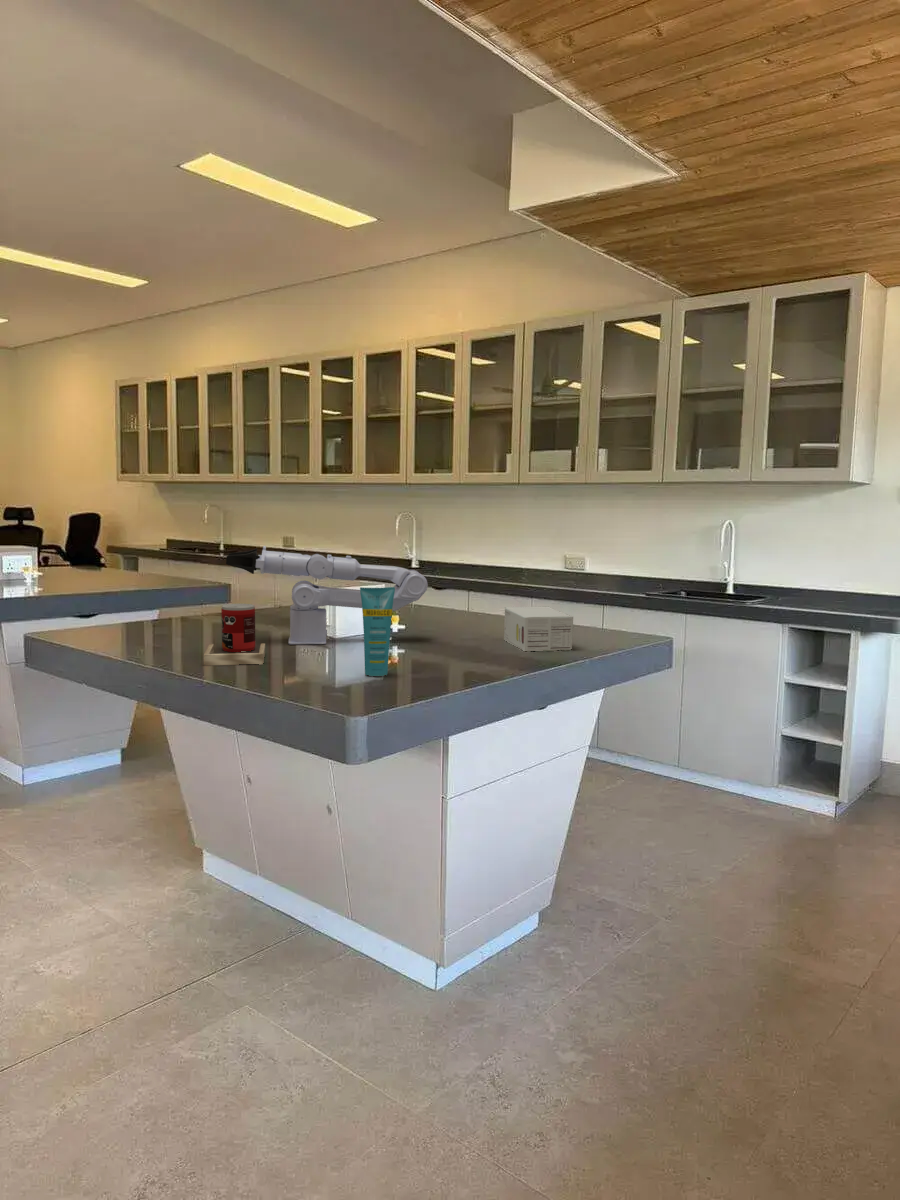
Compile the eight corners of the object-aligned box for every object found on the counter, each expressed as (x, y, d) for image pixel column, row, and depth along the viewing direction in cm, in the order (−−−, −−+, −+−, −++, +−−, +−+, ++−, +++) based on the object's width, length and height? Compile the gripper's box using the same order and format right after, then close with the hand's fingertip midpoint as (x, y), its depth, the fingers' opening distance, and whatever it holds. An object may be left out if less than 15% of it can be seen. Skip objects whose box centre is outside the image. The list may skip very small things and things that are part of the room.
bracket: (265, 653, 205) (265, 643, 205) (263, 664, 193) (263, 654, 192) (209, 654, 203) (209, 644, 203) (204, 665, 190) (203, 654, 190)
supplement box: (502, 641, 229) (503, 606, 228) (548, 639, 233) (549, 606, 231) (523, 653, 213) (525, 616, 212) (572, 651, 216) (574, 615, 215)
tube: (361, 677, 181) (362, 588, 179) (357, 673, 186) (358, 585, 183) (395, 676, 183) (396, 588, 181) (391, 671, 188) (392, 585, 185)
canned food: (220, 647, 211) (219, 603, 210) (253, 646, 214) (252, 603, 213) (223, 653, 204) (223, 608, 203) (257, 651, 207) (257, 607, 205)
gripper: (283, 545, 224) (230, 540, 221) (283, 549, 209) (226, 544, 207) (281, 572, 224) (228, 567, 222) (280, 578, 210) (224, 573, 208)
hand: (227, 558), depth 214 cm, fingers open, 7 cm apart
